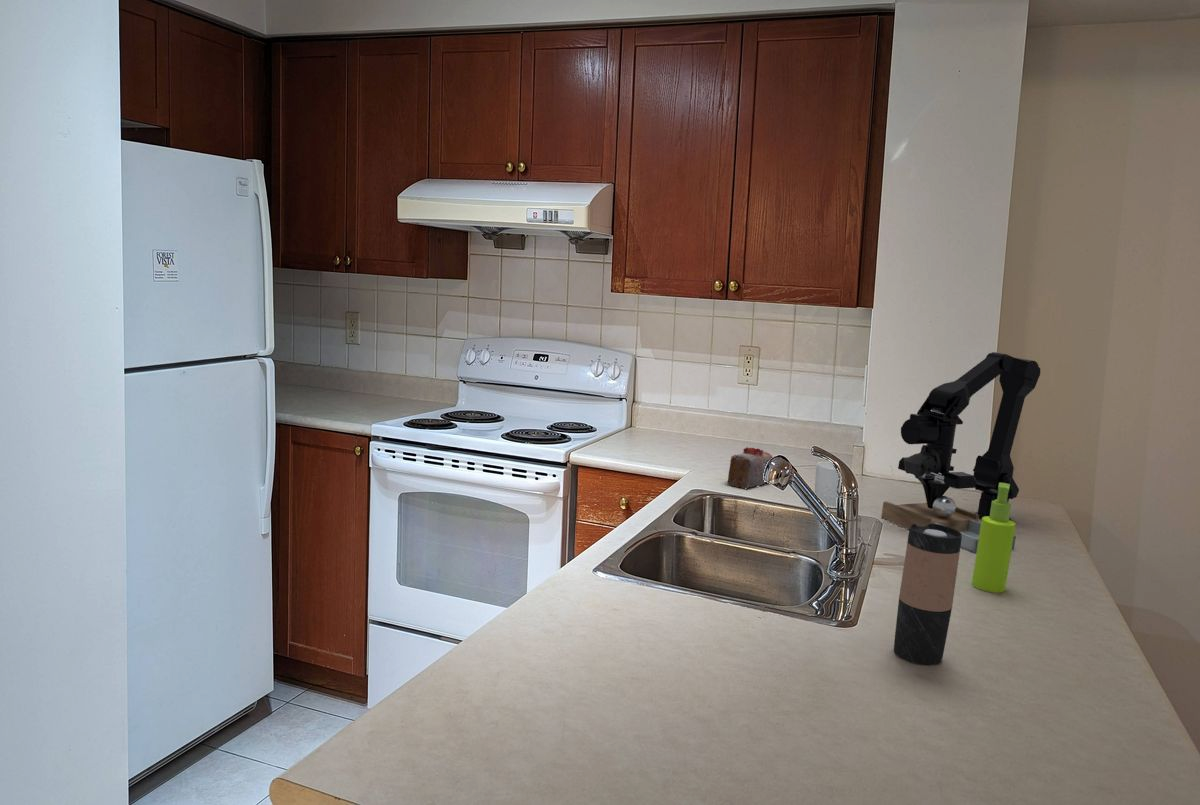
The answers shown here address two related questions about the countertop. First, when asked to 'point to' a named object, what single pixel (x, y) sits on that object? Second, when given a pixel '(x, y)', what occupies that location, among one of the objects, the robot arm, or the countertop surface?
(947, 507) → the ball
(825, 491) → the white cup
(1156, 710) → the countertop surface
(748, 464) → the food item
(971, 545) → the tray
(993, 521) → the soap dispenser
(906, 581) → the travel mug
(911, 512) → the deck
